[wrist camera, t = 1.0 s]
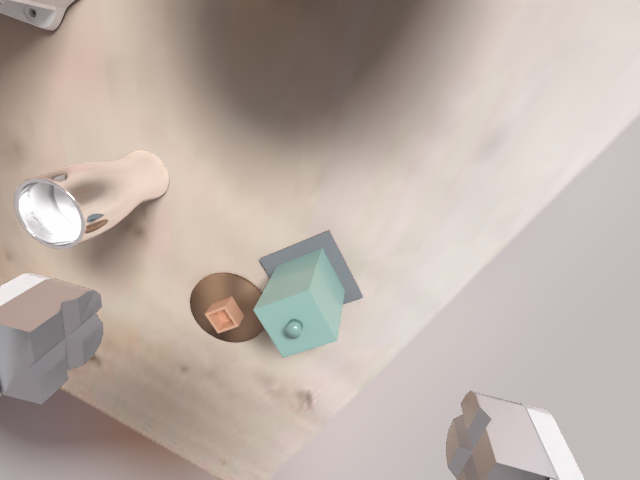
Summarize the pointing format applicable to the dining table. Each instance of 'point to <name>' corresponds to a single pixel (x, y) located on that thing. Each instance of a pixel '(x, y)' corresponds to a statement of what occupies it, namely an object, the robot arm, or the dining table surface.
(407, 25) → the dining table surface
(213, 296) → the disc
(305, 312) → the teal knobbed box
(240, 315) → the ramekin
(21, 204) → the shiny silver metal cup
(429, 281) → the dining table surface
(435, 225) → the dining table surface
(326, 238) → the mat
